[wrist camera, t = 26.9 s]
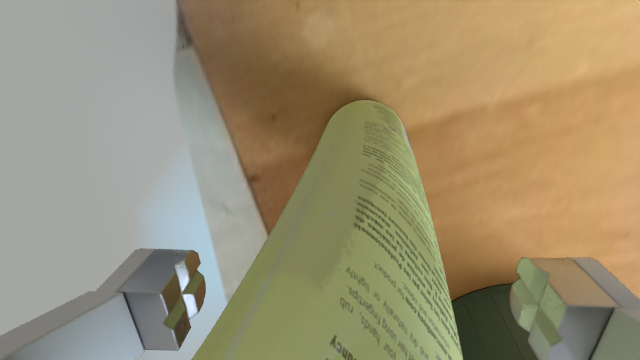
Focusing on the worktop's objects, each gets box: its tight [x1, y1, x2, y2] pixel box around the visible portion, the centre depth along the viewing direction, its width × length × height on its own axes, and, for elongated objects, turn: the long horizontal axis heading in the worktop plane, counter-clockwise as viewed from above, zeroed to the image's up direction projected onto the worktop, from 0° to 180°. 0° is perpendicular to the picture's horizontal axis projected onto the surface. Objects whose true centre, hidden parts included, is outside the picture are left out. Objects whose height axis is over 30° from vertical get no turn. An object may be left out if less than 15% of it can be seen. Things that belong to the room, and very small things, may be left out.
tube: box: [192, 100, 463, 360], centre depth 11 cm, size 6×5×20 cm
